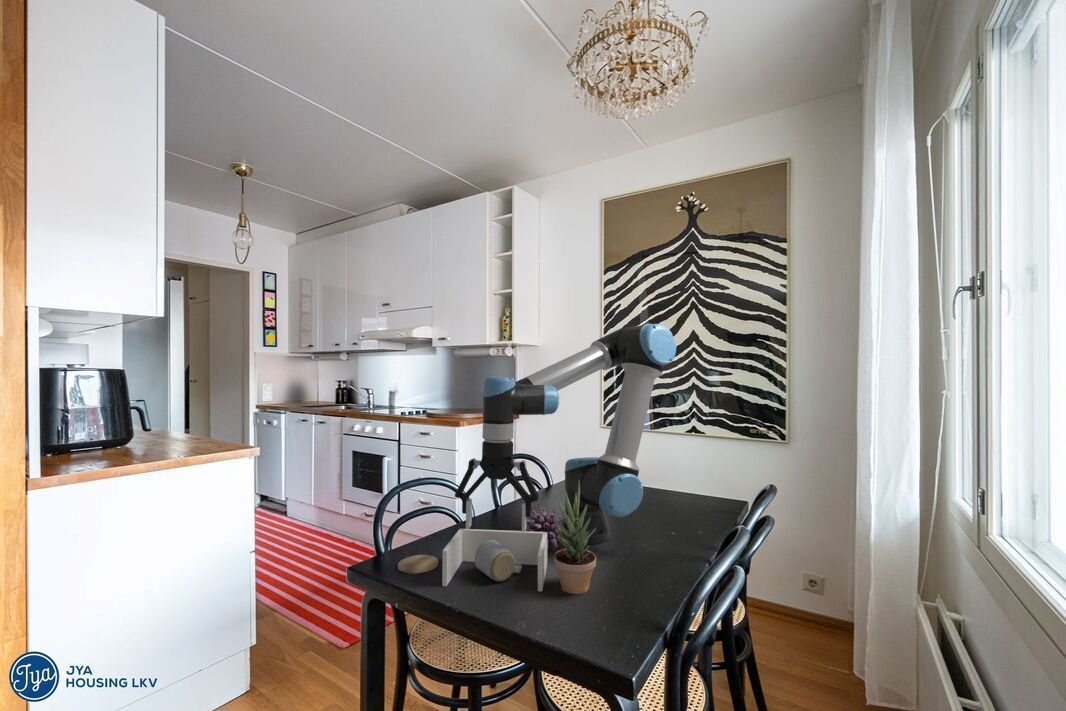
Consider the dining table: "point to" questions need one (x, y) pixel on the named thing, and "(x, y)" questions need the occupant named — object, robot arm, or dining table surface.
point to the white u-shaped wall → (519, 543)
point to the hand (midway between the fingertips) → (496, 528)
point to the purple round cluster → (545, 526)
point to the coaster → (418, 564)
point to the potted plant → (574, 550)
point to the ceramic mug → (496, 561)
